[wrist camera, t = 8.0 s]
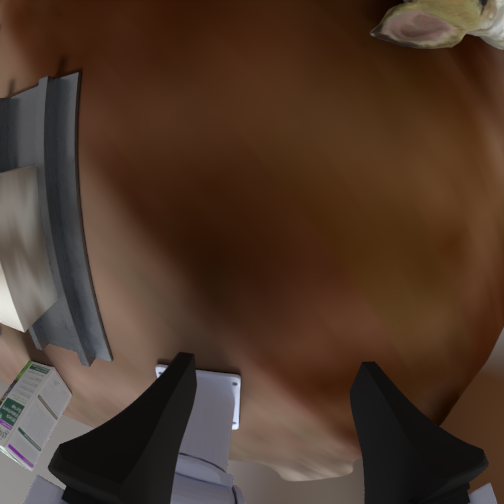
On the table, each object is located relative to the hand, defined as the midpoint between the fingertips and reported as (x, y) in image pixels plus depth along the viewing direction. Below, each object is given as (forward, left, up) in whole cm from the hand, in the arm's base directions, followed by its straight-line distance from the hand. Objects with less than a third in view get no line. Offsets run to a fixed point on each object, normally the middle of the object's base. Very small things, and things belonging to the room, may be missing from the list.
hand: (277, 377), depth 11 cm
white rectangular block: (+2, +21, -9) cm, 23 cm away
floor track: (+2, +21, -9) cm, 23 cm away
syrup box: (-19, +28, -10) cm, 35 cm away
